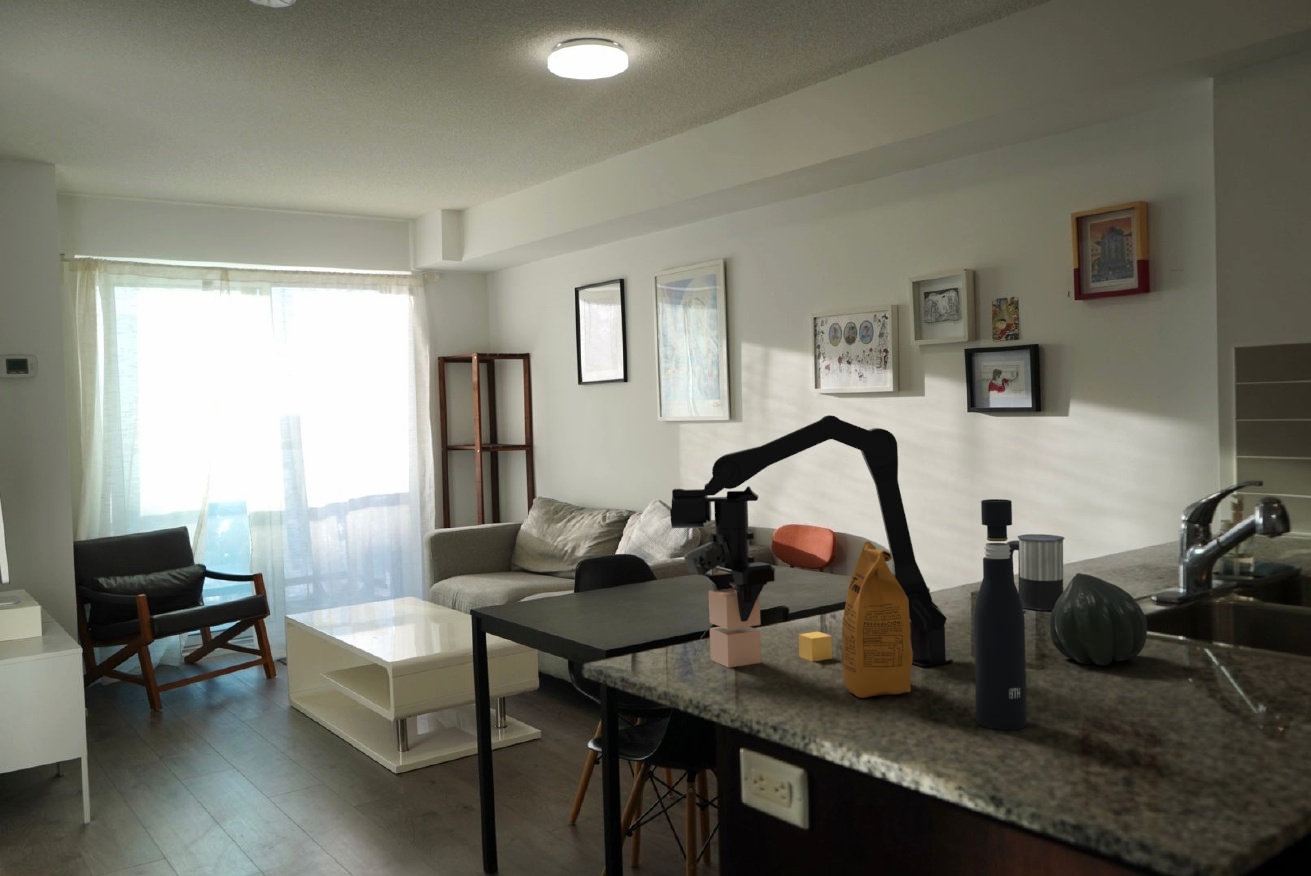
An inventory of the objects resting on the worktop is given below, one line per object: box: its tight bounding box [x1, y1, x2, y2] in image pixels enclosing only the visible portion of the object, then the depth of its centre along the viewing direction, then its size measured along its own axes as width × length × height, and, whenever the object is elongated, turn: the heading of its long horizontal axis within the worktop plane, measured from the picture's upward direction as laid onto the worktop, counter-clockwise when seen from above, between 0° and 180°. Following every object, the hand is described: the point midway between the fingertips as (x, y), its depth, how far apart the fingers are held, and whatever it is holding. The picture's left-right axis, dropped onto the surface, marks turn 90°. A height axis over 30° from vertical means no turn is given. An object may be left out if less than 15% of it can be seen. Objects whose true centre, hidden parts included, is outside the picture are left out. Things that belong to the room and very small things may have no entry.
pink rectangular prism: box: [708, 588, 761, 629], centre depth 173 cm, size 6×6×6 cm
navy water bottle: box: [973, 498, 1028, 731], centre depth 135 cm, size 6×6×30 cm
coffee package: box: [841, 541, 913, 699], centre depth 153 cm, size 10×12×22 cm
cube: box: [798, 631, 833, 662], centre depth 174 cm, size 4×4×4 cm
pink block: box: [709, 626, 762, 669], centre depth 173 cm, size 6×6×6 cm
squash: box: [1048, 572, 1148, 667], centre depth 167 cm, size 14×15×15 cm
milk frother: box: [1006, 533, 1066, 612], centre depth 209 cm, size 14×16×15 cm
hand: (734, 617), depth 173 cm, fingers closed on pink rectangular prism, 6 cm apart
